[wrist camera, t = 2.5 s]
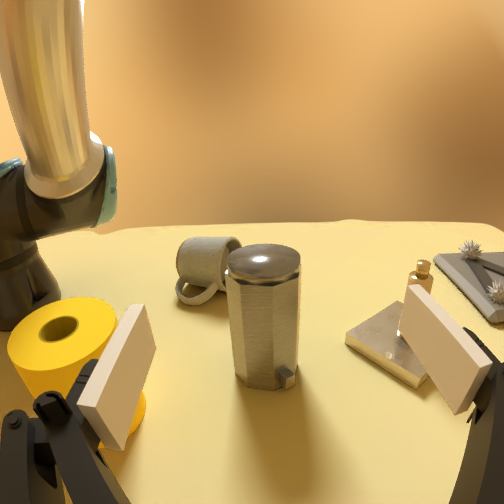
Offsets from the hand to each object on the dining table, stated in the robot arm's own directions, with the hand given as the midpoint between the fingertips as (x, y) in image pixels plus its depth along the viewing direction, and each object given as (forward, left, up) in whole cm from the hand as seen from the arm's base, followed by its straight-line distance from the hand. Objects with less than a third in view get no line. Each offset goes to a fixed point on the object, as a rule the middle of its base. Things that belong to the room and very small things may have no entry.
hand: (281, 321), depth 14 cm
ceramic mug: (-28, +7, -13) cm, 31 cm away
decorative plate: (+6, +49, -14) cm, 51 cm away
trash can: (-9, +5, -13) cm, 16 cm away
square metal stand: (-2, +19, -13) cm, 23 cm away
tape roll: (-12, -12, -13) cm, 22 cm away
